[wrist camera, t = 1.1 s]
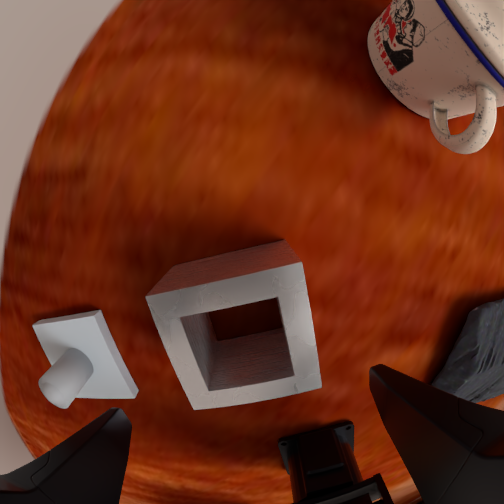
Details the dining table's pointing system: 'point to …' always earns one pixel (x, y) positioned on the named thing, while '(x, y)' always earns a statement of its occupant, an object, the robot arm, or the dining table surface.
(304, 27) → the dining table surface
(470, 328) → the dark slate chunk
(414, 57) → the teacup with lid
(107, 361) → the shaft base
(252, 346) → the collar
